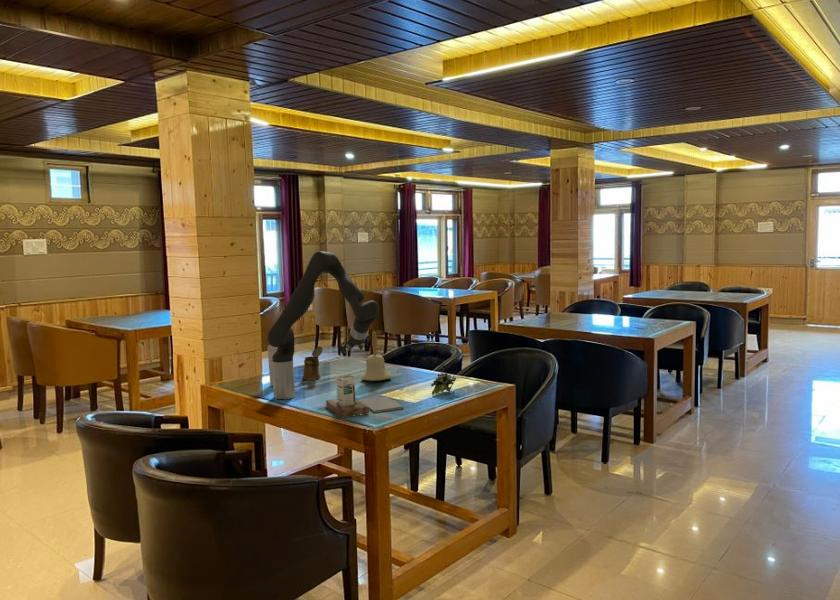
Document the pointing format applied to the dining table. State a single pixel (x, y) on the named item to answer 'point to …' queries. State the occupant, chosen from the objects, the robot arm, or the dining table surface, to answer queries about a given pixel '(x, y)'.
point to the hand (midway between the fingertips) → (352, 351)
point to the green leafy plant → (443, 383)
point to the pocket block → (347, 408)
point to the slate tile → (381, 404)
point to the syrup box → (346, 390)
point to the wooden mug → (312, 365)
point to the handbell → (375, 364)
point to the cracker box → (271, 361)
